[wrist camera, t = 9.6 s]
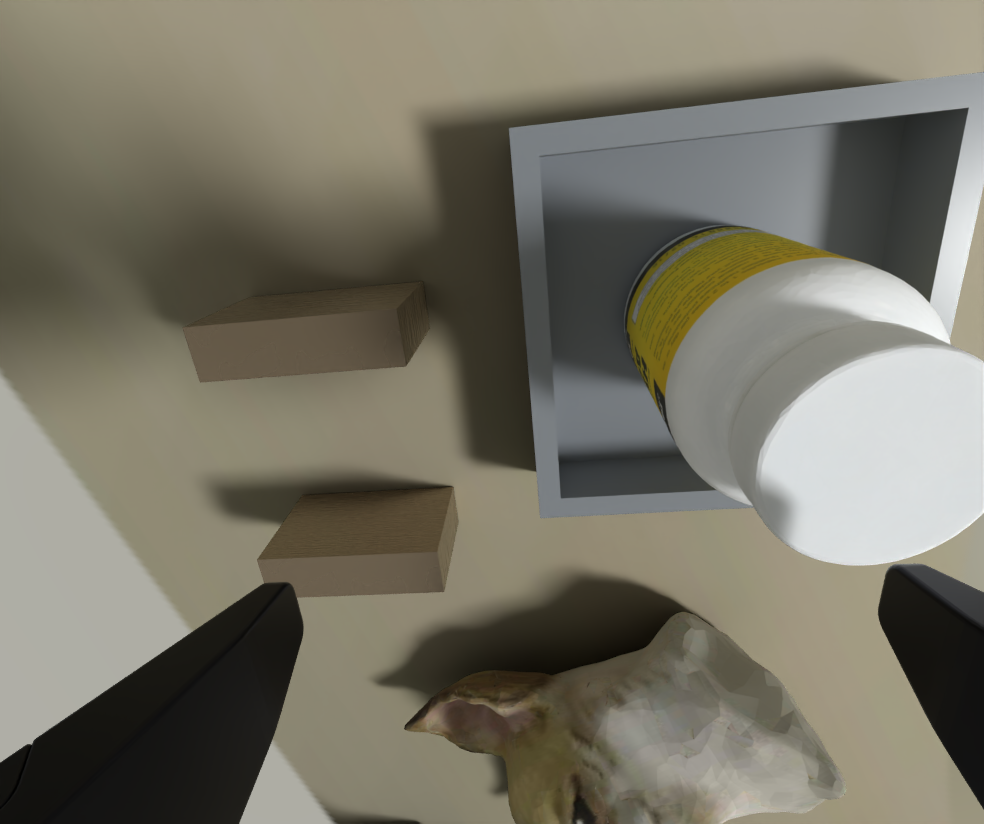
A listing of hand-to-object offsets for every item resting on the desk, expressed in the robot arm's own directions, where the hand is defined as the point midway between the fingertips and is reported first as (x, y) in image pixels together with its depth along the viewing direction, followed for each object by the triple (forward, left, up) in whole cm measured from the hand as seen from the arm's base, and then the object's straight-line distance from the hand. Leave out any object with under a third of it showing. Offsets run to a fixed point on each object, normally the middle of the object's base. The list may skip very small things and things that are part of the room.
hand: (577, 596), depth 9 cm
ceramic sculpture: (-15, -2, -12) cm, 20 cm away
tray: (+1, -5, -12) cm, 13 cm away
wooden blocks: (-2, +7, -12) cm, 14 cm away
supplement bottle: (+1, -5, -11) cm, 12 cm away
